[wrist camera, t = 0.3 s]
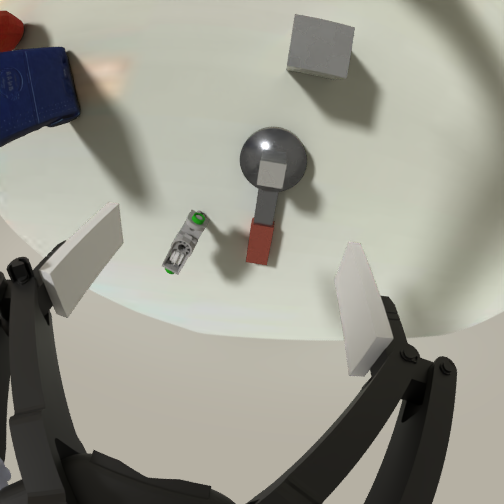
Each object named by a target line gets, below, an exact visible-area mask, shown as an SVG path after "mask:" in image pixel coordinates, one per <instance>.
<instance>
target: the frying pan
mask: <svg viewBox="0 0 504 504" xmlns="http://www.w3.org/2000/svg"><path fill="white" fill-rule="evenodd" d="M306 165H307V157H306V153H305V149H304V147H303V144H302V143H301V141H300V140H299V138H298V137H297V136H296V135H295V134H293V133H292V132H290V131H288V130H286V129H284V128H280V127H267V128H263V129H260V130H258V131H256V132H255V133H253V134H252V135H251V136H250V137H249V138H248V140H247V141H246V142H245V144H244V146H243V148H242V150H241V154H240V166H241V169H242V172H243V174H244V176H245V177H246V179H247V180H248V181H249V182H250V183H251V184H252V185H254V186H255V187H257V188H259V190H258V196H257V203H256V210H255V217H254V218H253V219H252V223H251V229H250V236H249V243H248V250H247V257H246V262H249V263H256V264H262V265H267V261H268V256H269V251H270V246H271V240H272V235H273V230H274V221H273V218H274V213H275V208H276V202H277V197H278V192H280V191H284V190H287V189H289V188H291V187H293V186H294V185H296V184H297V183H298V182H299V181H300V179H301V178H302V177H303V175H304V173H305V170H306Z"/></svg>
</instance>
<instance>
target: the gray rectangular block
mask: <svg viewBox="0 0 504 504" xmlns="http://www.w3.org/2000/svg"><path fill="white" fill-rule="evenodd" d="M354 30H355V28H354V27H351V26H347V25H344V24H340V23H336V22H332V21H327V20H323V19H318V18H314V17H308V16H303V15H297V14H295V18H294V24H293V30H292V36H291V43H290V49H289V56H288V62H287V68H286V70H289V71H294V72H300V73H305V74H310V75H315V76H320V77H324V78H328V79H333V80H337V79H346V78H347V74H348V68H349V62H350V56H351V50H352V43H353V37H354Z"/></svg>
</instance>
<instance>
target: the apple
mask: <svg viewBox="0 0 504 504" xmlns="http://www.w3.org/2000/svg"><path fill="white" fill-rule="evenodd" d="M23 32H24V26H23V23H22V21H21V20H19V19H18V18H17V17H15V16H14V15H12V14H11V13H9V12H7V11H0V52H7V51H12V50H13V49H14V48H15V47H16V46H17V44H18V43H19V41H20V40H21V38H22V36H23Z"/></svg>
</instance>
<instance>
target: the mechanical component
mask: <svg viewBox="0 0 504 504" xmlns="http://www.w3.org/2000/svg"><path fill="white" fill-rule="evenodd" d="M201 213H202V212H201V211H197V212H195V211H193V210H191V212H190V213H189V215H188V217H187V219H186V221H185V223H184V225H183V226H182V228H181V230H180V231H179V232H178V234H177V236H176V237H175V239H174V240H173V242H172V244H171V248H170V250H169V252H168V254H167V256H166V258H165V260H164V262H163V264H162V266H163V267H165V270H166V272H167V273H169V274H174V273H175V274H177V275H178V274H179V272H180V271H181V269H182V267H183V266H184V264H185V262H186V260H187V259H188V257H190V256H191V254H192V252H193V250H194V248H195V246H196V244H197V242H198V239H199V237H200V236H201V234H202V232H203V231H204V229H205V228H206V226H207V224H208V222H209V219H207V218H205V214H203V215H202V214H201Z"/></svg>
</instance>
